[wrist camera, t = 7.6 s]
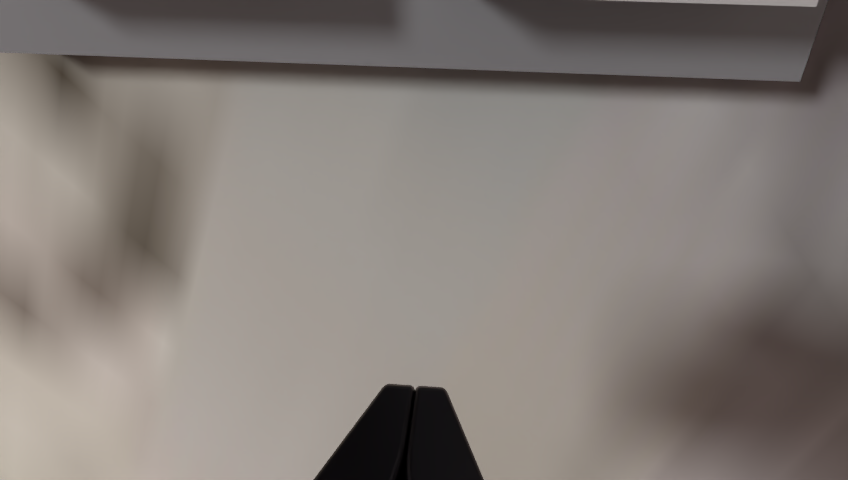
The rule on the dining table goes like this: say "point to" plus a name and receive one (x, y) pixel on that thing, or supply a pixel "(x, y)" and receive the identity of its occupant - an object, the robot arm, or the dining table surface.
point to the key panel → (437, 33)
